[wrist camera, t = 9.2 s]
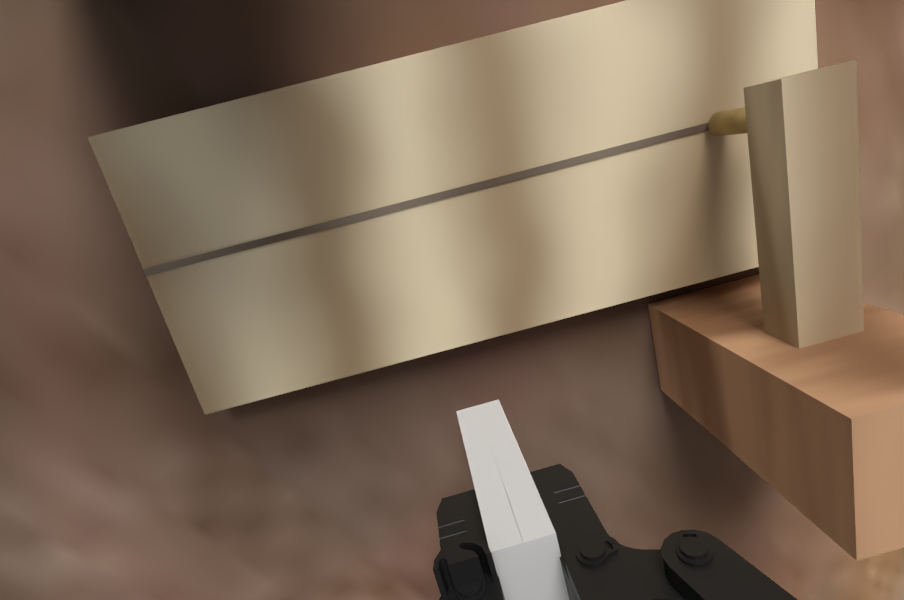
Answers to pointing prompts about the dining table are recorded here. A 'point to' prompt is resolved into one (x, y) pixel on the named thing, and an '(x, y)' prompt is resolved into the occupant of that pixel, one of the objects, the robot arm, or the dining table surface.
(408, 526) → the dining table surface
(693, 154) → the board
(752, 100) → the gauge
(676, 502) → the dining table surface
